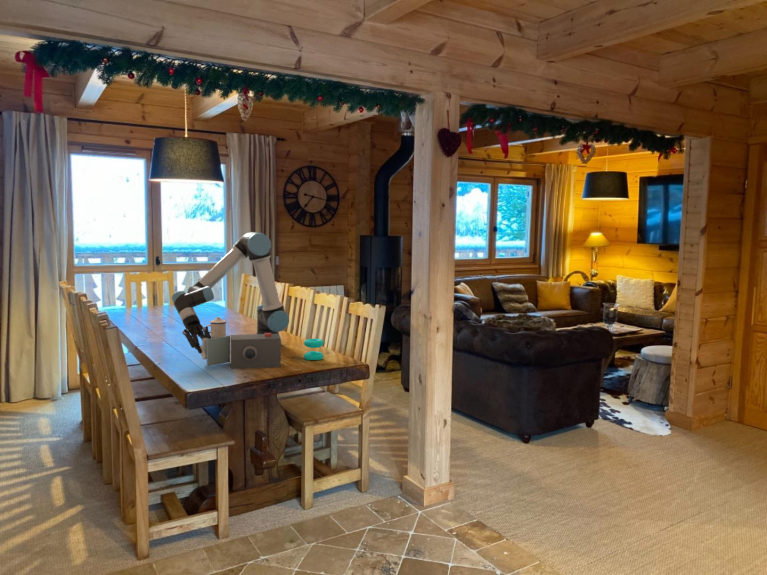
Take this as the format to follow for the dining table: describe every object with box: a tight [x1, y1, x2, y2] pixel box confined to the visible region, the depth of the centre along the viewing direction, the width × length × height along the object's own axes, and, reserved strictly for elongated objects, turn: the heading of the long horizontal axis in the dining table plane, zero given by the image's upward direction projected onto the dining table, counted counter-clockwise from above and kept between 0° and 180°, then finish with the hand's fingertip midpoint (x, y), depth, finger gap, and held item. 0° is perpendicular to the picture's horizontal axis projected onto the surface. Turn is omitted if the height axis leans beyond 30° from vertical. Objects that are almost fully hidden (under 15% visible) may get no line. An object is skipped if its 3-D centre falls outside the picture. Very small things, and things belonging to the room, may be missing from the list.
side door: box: [201, 335, 231, 367], centre depth 296 cm, size 13×7×13 cm, turn 140°
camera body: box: [230, 333, 282, 370], centre depth 295 cm, size 14×23×15 cm, turn 106°
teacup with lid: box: [206, 316, 227, 338], centre depth 362 cm, size 12×9×12 cm
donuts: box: [303, 338, 325, 361], centre depth 312 cm, size 10×10×10 cm
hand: (208, 357), depth 293 cm, fingers open, 3 cm apart
